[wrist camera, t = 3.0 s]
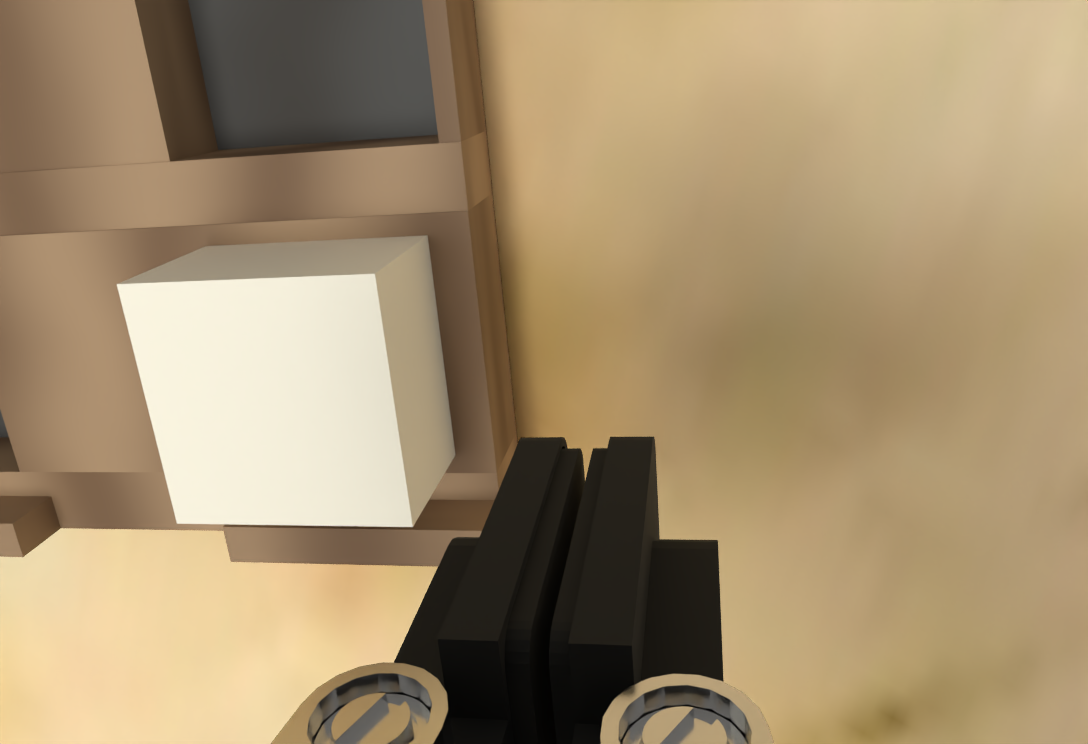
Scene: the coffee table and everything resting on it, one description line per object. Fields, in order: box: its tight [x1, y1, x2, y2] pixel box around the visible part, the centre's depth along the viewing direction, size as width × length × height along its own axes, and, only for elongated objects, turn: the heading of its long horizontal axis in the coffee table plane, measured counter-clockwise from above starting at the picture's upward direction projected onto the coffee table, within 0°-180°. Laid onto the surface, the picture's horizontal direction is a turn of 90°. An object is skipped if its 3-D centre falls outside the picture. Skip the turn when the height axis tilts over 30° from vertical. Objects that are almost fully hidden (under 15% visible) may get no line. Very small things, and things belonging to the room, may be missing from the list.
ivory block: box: [117, 235, 455, 527], centre depth 20 cm, size 6×6×4 cm
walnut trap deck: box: [0, 0, 518, 566], centre depth 22 cm, size 22×18×4 cm
